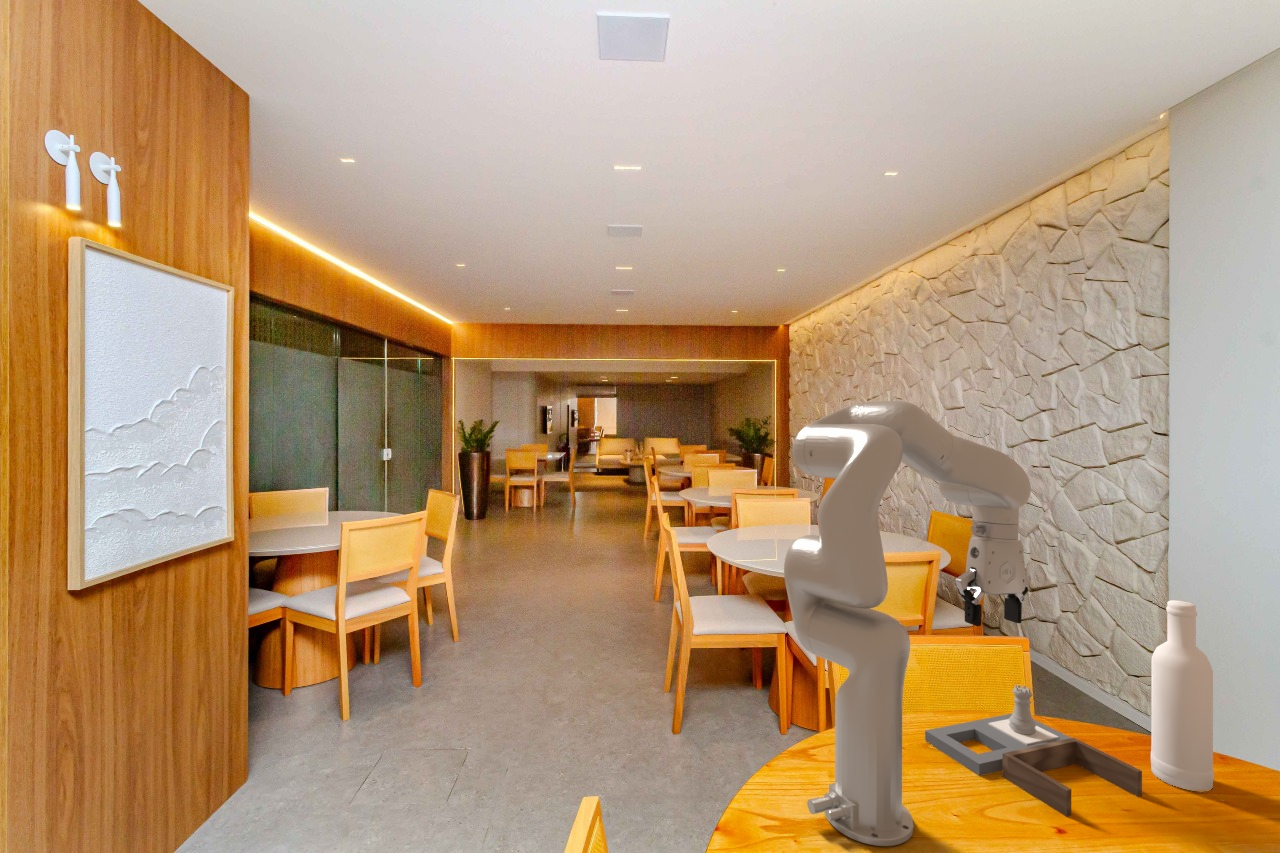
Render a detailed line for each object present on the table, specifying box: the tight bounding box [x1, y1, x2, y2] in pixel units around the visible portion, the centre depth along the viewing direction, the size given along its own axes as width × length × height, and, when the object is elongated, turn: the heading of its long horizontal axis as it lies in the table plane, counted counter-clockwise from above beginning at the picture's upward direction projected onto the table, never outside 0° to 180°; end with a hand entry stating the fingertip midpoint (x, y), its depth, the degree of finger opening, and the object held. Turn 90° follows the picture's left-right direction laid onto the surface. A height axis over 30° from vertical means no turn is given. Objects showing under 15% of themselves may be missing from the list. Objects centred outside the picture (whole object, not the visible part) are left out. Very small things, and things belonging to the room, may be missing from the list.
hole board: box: [924, 713, 1072, 776], centre depth 112 cm, size 24×12×2 cm, turn 109°
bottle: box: [1150, 599, 1215, 792], centre depth 101 cm, size 8×8×30 cm
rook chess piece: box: [1009, 684, 1036, 735], centre depth 113 cm, size 4×4×8 cm
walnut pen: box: [1001, 737, 1143, 817], centre depth 99 cm, size 17×11×4 cm, turn 109°
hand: (992, 622), depth 112 cm, fingers open, 9 cm apart
